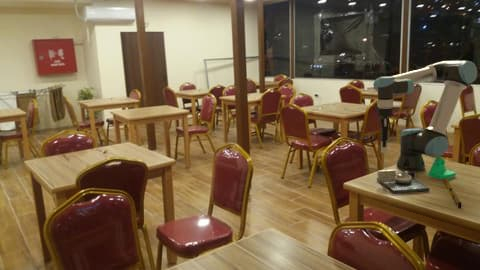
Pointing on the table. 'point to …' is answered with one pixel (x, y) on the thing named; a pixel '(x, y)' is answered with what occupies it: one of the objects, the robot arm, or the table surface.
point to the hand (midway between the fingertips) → (383, 152)
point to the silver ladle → (393, 177)
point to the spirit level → (452, 193)
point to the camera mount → (440, 170)
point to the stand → (405, 186)
